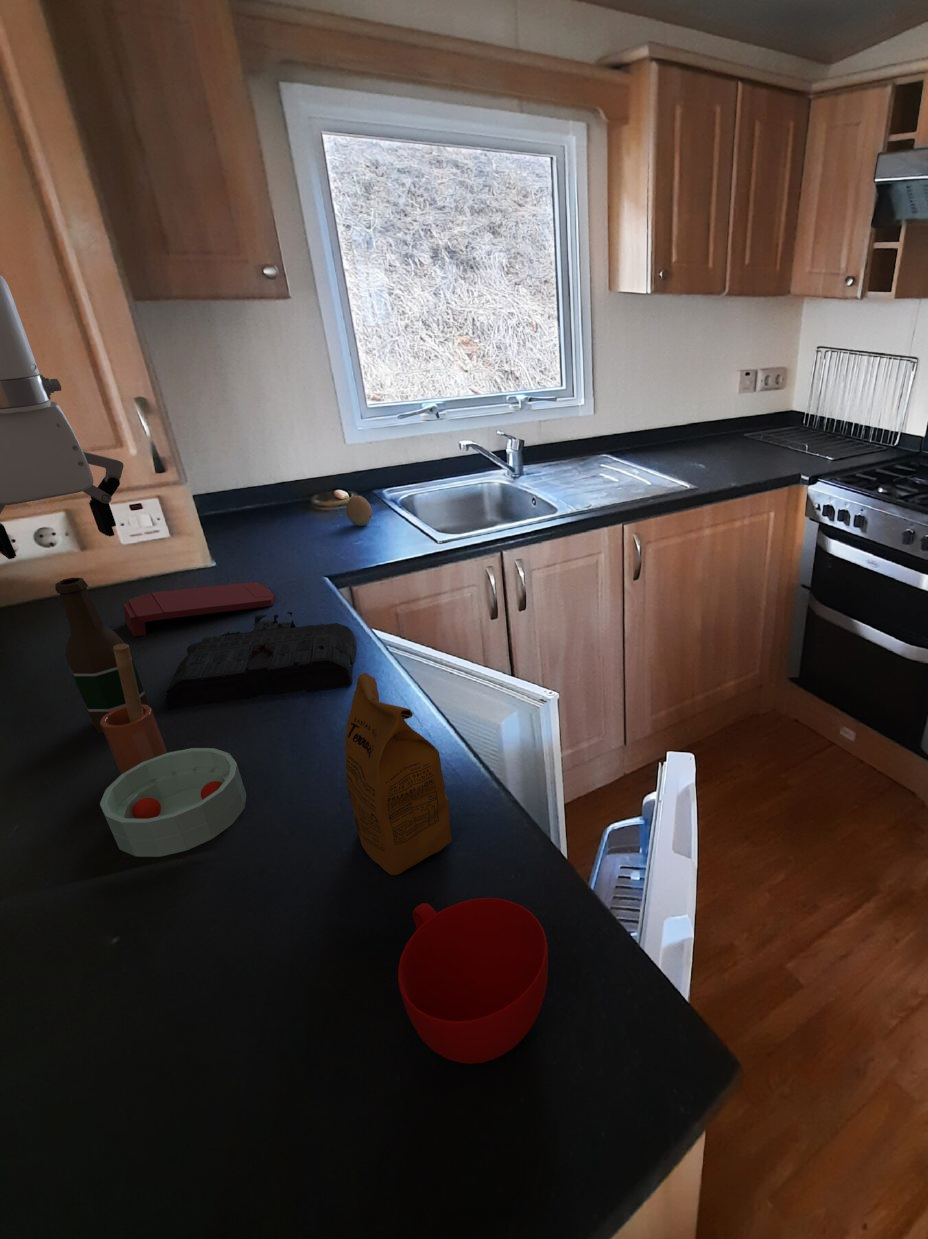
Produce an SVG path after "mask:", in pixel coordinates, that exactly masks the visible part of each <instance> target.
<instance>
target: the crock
mask: <svg viewBox="0 0 928 1239" xmlns="http://www.w3.org/2000/svg"><path fill="white" fill-rule="evenodd" d="M141 705H142V710H143V714H144V715H143V716H142V717H140V718H139V719H138V720H135V721H133V722H130V720H129V715H128V711H127V706H123V707H120V708H118V709H115V710H112V711H111V712H109V713H108V714H106V715H105V716H103V717H102V719H101V721H100V725H101V727H102V730H103V732H104V733H103V734H104V737H105V740H106V742H107V745H108V747H109V749H110V752H111V755H112V757H113V759H114V761H115V765H116V766H117V769H118V771H119V775H121V774H123V773H125V772H126V771H128V770H130V769H132V768H133V767H135V766H137V765H138V764H140V763H142V762H144V761H147V760H150V759H152V758H155V757H158V756H160V755H163V754H166V753H168V750H167V747H166V744H165V741H164V739H163V736H162V734H161V731H160V728H159V726H158V723H157V720H156V718H155V714H154V711H153V708H152V707H149V706H150V705H149V706H148V705H144V704H141Z"/></svg>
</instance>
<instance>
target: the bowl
mask: <svg viewBox="0 0 928 1239" xmlns="http://www.w3.org/2000/svg"><path fill="white" fill-rule="evenodd" d="M242 779H243V778H242V776H241V773H240V769H239V767H238V763H237V762H236V760H235V758H233V756H232V755H231V753H230V752H226V751H223V750H220V749H217V748H214V747H191V748H185V749H181V750H175V751H169V752H167V753H166V754H163V755H160V756H158V757H155V758H152V759H150V760H147V761H144V762H142V763H140V764H138V765H137V766H135V767H133V768H132V769H130V770H128V771H126V772H125V773H123V774H119V776H118V777H117V778H116V779H115V780H114V781H112V783H111V784H109V786H107V787H106V789H105V790H104V793H103V795H102V797H101V800H100V802H99V807H100V808H101V811H102V813H103V816H104V818H105V820H106V822H107V824H108V828H109V830H110V831H111V834H112V836H113V838H114V840H115V843H116V845H117V848H118V849H119V850H120V851H122V852H124V853H127V854H129V855H131V856H134V857H138V858H139V857H141V858H143V857H144V858H160V857H165V856H169V855H173V854H179V853H183V852H186V851H189V850H191V849H193V848H196V847H198V846H200V845H202V844H205V843H207V842H209V841H212V840H213V839H215V838H216V837H218V836H219V835H220V834H222V833H223V832H224V831H226V830H227V829H228V828H230V827H231V826H233V824H234V823H235V822H236V821H237V820H238V818H239V817H240V816H241V814H242V813H243V812H244V811H245V808H246V802H247V792H246V788H245V785H244V783H243V780H242ZM213 781H219V782H222V783H223V784H222V785H221V786H220V787H219V789H218V790H217V791H215V792H214V793H212V794H211V795H209V796H208V797H206V798H205V799H203V800H202V798H201V790H202V788H203V787H204V786H205V785H206V784H207V783H209V782H213ZM143 798H154V799H156V800H157V801H158V802H159V803H160V805H161V812H160V814H159V815H158V816H157V817H154V818H149V819H135V818H134V816H133V814H132V809H133V806H134V805H135V803H136V802H138V801H139V800H141V799H143Z"/></svg>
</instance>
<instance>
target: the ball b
mask: <svg viewBox="0 0 928 1239" xmlns="http://www.w3.org/2000/svg"><path fill="white" fill-rule="evenodd" d="M222 784H223V783H222V782H219V781H213V782H209V783H207V784H206V785H205V786H204V787H203V788H202V790H201V798H202V800H203V799H205V798H206V797H208V796H209V795H211V794H212V793H214V792H215V791H217V790H218V789H219V787H220V786H221V785H222Z"/></svg>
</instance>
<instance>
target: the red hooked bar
mask: <svg viewBox="0 0 928 1239" xmlns="http://www.w3.org/2000/svg"><path fill="white" fill-rule="evenodd" d="M127 601H128V602H125V603H123V605H122V606H123V612H124V620H125V624H126V625H127V627H128V629H129V630H130V633H131V635H132V636H133V637H134V638H135V637H141V636H146V635H147V630H146V623H147V622H154V621H160V620H161V621H162V620H167V619H169V620H170V619H176V618H183V617H192V616H201V615H208V614H218V613H224V612H225V613H226V612H233V611H240V610H248V609H249V610H250V609H258V608H264V607H265V608H266V607H273V605H274V604H275V602H276V595H275V594H274V593H273V592H272V591H271V590H270V589H269V588H268V587H267V586H266V585H265V584H263V583H259V582H255V581H250V582H240V583H230V584H220V585H210V586H202V587H191V588H182V589H171V590H161V591H152V592H147V593H145V594H143V595H139V596H136V597H134V598H131V599H128V600H127Z"/></svg>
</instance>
